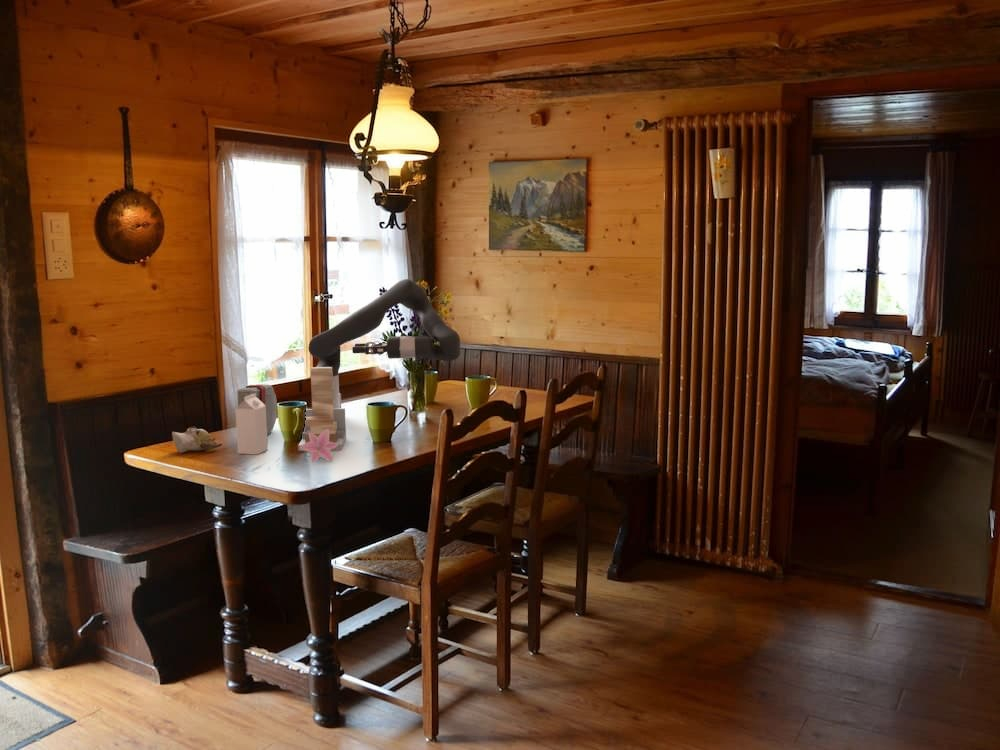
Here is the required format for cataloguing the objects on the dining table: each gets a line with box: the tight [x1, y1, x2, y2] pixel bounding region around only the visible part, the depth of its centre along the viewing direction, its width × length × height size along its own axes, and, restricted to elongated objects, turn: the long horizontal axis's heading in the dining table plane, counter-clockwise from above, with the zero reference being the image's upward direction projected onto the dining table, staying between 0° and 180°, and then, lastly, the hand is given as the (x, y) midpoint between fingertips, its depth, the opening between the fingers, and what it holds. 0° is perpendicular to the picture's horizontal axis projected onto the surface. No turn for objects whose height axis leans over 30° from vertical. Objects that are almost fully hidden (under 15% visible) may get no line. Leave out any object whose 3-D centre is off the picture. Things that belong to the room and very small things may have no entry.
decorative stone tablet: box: [236, 384, 278, 436], centre depth 308 cm, size 19×6×30 cm
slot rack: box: [297, 407, 347, 452], centre depth 296 cm, size 16×14×11 cm
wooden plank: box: [310, 366, 334, 421], centre depth 299 cm, size 2×7×24 cm, turn 94°
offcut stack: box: [305, 416, 338, 443], centre depth 294 cm, size 6×10×8 cm, turn 94°
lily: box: [299, 429, 338, 463], centre depth 278 cm, size 11×11×9 cm
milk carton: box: [234, 393, 269, 455], centre depth 287 cm, size 7×7×19 cm
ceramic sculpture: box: [171, 425, 223, 454], centre depth 290 cm, size 11×9×15 cm
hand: (353, 348), depth 297 cm, fingers open, 8 cm apart
